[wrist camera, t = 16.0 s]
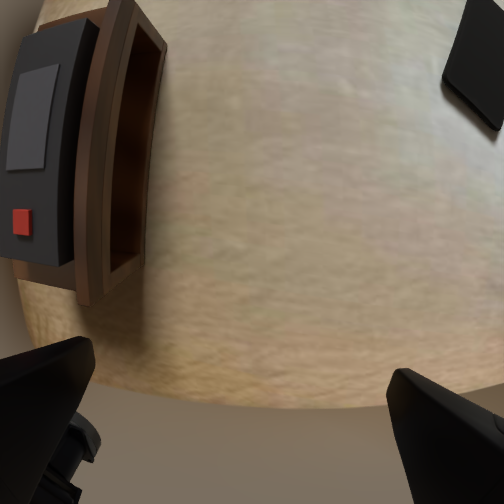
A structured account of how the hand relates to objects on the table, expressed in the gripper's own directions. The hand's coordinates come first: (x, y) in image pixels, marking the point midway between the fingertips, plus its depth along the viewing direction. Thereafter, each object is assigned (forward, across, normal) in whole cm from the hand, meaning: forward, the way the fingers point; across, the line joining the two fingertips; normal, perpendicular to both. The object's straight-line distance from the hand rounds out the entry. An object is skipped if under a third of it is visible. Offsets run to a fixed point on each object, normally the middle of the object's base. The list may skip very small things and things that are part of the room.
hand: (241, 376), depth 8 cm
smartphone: (+13, -19, -20) cm, 31 cm away
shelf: (+13, +11, -7) cm, 18 cm away
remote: (+7, +11, -7) cm, 15 cm away
